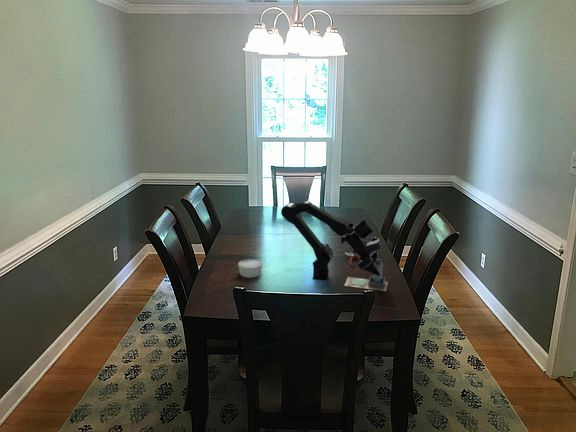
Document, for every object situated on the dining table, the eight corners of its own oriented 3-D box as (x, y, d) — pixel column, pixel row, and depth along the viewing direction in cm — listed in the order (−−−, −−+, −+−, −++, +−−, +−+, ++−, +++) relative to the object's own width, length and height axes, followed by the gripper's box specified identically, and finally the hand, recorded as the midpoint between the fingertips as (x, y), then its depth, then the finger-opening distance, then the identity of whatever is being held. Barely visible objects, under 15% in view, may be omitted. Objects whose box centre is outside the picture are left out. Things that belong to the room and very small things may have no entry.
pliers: (356, 253, 242) (357, 249, 242) (373, 267, 224) (374, 262, 223) (336, 255, 239) (336, 250, 239) (352, 270, 221) (352, 264, 220)
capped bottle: (371, 286, 200) (373, 260, 197) (372, 282, 204) (374, 257, 201) (380, 287, 199) (382, 261, 196) (381, 283, 203) (383, 258, 200)
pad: (351, 284, 202) (351, 283, 202) (353, 279, 207) (353, 278, 207) (364, 286, 201) (364, 285, 201) (365, 281, 206) (365, 280, 206)
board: (344, 286, 201) (344, 285, 201) (347, 277, 210) (348, 276, 210) (386, 291, 196) (386, 291, 196) (387, 282, 205) (387, 282, 205)
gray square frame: (368, 287, 200) (368, 281, 199) (369, 281, 206) (370, 276, 205) (383, 289, 198) (384, 283, 197) (384, 283, 204) (385, 277, 203)
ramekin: (252, 267, 220) (252, 257, 219) (267, 274, 212) (267, 264, 211) (233, 273, 213) (233, 262, 212) (247, 281, 205) (247, 270, 204)
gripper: (367, 240, 188) (393, 268, 188) (374, 227, 205) (397, 253, 205) (347, 255, 193) (372, 283, 192) (355, 242, 210) (378, 267, 209)
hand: (380, 271), depth 200 cm, fingers open, 9 cm apart
